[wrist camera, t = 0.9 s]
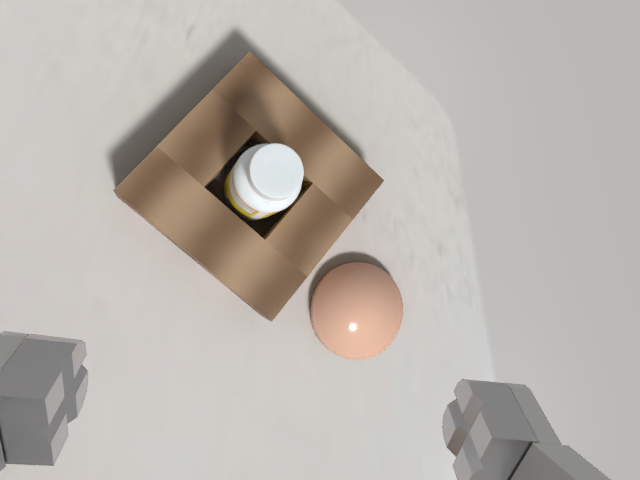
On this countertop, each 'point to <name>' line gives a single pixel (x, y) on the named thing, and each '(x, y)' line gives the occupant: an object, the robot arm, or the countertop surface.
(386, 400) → the countertop surface
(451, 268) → the countertop surface
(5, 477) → the countertop surface
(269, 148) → the supplement bottle
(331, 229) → the frame
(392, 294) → the peach round disc
